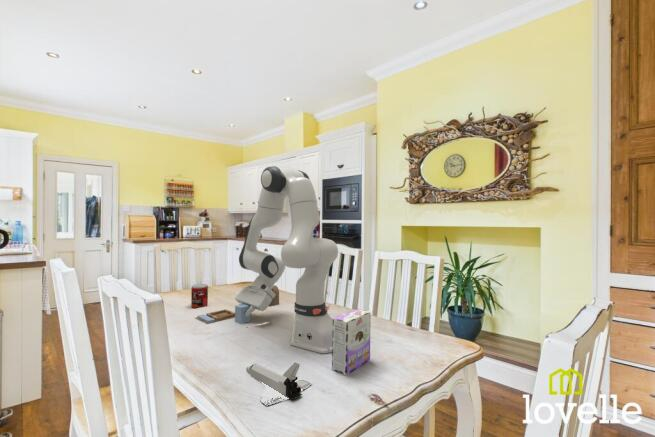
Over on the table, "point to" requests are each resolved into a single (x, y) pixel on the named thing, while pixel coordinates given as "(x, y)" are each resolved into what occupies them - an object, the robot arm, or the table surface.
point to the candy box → (350, 341)
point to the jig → (219, 316)
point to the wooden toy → (276, 299)
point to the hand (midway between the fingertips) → (241, 314)
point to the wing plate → (206, 318)
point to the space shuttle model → (279, 381)
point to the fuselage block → (242, 313)
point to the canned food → (199, 295)
